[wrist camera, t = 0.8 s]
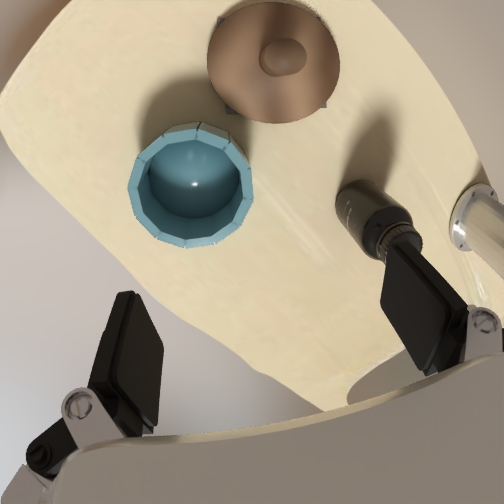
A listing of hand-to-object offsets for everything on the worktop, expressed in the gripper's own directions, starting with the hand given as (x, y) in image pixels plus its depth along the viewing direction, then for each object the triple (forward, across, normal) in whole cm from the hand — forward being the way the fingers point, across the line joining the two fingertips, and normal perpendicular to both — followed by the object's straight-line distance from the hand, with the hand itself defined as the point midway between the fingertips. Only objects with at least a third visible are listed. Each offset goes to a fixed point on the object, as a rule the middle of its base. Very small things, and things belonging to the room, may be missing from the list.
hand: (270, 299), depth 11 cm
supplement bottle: (+25, -15, +9) cm, 31 cm away
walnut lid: (+24, -6, -9) cm, 27 cm away
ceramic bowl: (+25, +5, +2) cm, 26 cm away
